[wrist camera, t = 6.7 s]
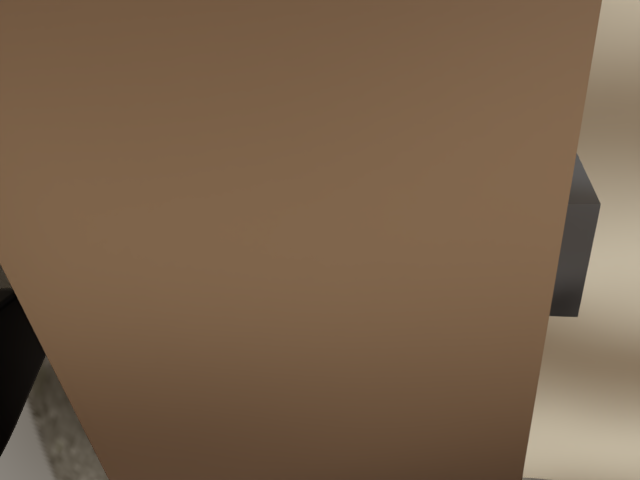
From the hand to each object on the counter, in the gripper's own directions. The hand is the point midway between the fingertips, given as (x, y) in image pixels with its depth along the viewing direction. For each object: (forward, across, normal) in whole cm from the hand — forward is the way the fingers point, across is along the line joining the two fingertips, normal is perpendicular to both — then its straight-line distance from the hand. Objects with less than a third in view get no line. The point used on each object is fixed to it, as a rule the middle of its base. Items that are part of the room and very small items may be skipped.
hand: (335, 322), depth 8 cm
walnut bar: (+1, 0, 0) cm, 1 cm away
